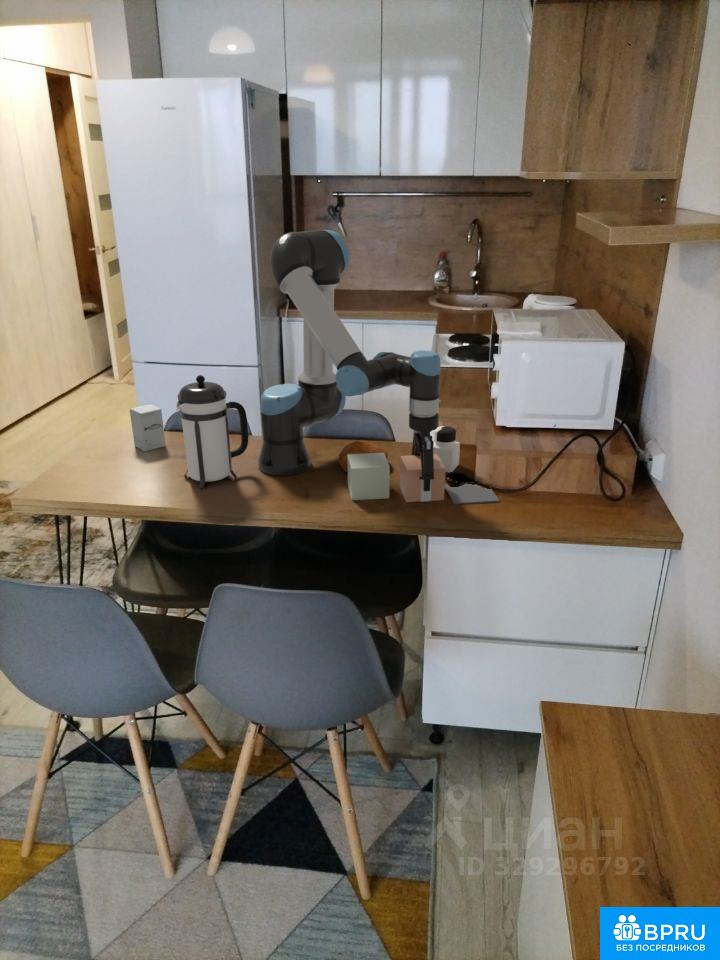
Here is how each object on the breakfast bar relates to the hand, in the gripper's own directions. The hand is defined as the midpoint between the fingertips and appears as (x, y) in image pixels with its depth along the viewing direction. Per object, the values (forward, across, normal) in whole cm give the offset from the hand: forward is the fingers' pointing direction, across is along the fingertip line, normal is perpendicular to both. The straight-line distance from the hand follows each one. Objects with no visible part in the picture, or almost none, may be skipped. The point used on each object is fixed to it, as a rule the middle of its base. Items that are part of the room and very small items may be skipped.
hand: (421, 492), depth 185 cm
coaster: (0, -2, -13) cm, 13 cm away
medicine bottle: (+1, +17, -10) cm, 20 cm away
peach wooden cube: (0, 0, 0) cm, 0 cm away
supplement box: (0, +46, +78) cm, 91 cm away
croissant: (+1, +21, +13) cm, 25 cm away
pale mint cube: (0, +3, +14) cm, 14 cm away
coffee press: (0, +18, +56) cm, 59 cm away
